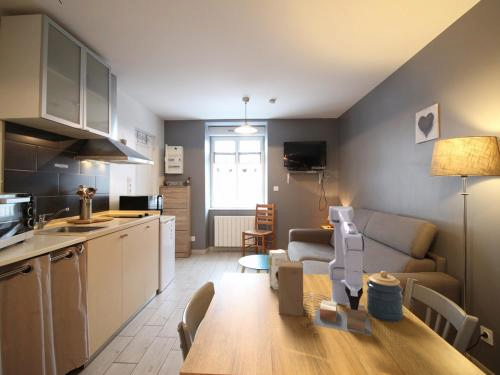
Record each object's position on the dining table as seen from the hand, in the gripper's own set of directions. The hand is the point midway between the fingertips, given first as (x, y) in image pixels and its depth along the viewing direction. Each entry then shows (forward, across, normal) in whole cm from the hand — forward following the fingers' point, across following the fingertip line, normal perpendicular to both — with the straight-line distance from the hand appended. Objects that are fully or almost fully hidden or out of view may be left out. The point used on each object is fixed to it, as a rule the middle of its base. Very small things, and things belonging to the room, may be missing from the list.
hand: (354, 309), depth 82 cm
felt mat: (+10, -10, -4) cm, 15 cm away
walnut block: (+10, -6, +1) cm, 11 cm away
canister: (+10, -22, +11) cm, 27 cm away
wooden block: (+10, -11, -24) cm, 29 cm away
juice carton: (+10, -33, -37) cm, 50 cm away
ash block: (+8, -8, -10) cm, 14 cm away
